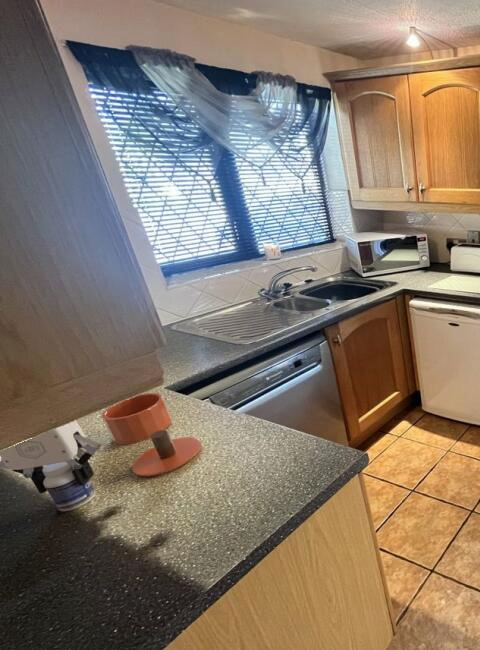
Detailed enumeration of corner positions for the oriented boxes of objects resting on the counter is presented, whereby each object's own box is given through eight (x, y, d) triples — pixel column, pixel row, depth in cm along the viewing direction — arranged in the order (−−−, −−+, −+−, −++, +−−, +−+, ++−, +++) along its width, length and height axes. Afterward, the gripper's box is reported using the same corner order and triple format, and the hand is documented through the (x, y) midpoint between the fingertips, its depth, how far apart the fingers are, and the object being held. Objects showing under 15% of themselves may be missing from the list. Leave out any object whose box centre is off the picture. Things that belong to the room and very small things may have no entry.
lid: (121, 484, 83) (108, 458, 81) (152, 446, 94) (141, 423, 92) (188, 471, 87) (177, 445, 84) (210, 436, 98) (202, 413, 95)
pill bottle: (100, 497, 80) (80, 460, 77) (63, 516, 76) (40, 478, 72) (91, 487, 83) (72, 451, 79) (55, 505, 78) (33, 468, 75)
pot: (102, 448, 94) (90, 423, 91) (130, 420, 104) (119, 397, 101) (158, 438, 97) (147, 414, 94) (180, 412, 107) (171, 389, 105)
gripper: (-58, 431, 65) (-5, 509, 72) (69, 412, 70) (108, 487, 76) (-17, 406, 72) (28, 480, 79) (97, 390, 77) (130, 461, 83)
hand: (67, 483), depth 77 cm, fingers closed on pill bottle, 5 cm apart
